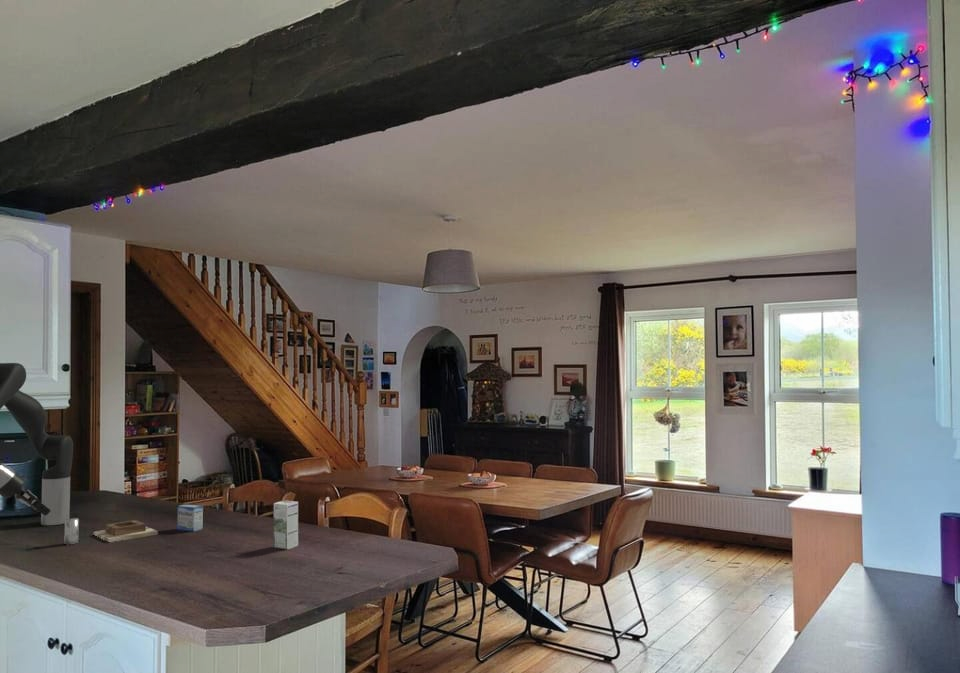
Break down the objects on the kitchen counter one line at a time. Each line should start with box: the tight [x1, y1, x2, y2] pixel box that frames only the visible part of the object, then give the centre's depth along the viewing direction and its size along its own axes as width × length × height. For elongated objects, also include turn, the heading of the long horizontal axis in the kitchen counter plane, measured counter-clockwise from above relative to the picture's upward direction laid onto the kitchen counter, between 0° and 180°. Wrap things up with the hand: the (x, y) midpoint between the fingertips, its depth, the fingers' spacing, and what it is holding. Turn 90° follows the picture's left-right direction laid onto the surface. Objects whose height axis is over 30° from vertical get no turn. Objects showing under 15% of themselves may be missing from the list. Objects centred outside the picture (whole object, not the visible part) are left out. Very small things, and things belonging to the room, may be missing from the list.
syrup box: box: [273, 500, 299, 550], centre depth 225 cm, size 6×6×14 cm
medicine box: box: [176, 504, 204, 533], centre depth 251 cm, size 8×4×9 cm, turn 68°
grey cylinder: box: [63, 517, 80, 546], centre depth 231 cm, size 4×4×8 cm
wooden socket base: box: [92, 519, 159, 543], centre depth 244 cm, size 16×16×4 cm
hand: (44, 511), depth 226 cm, fingers open, 8 cm apart
